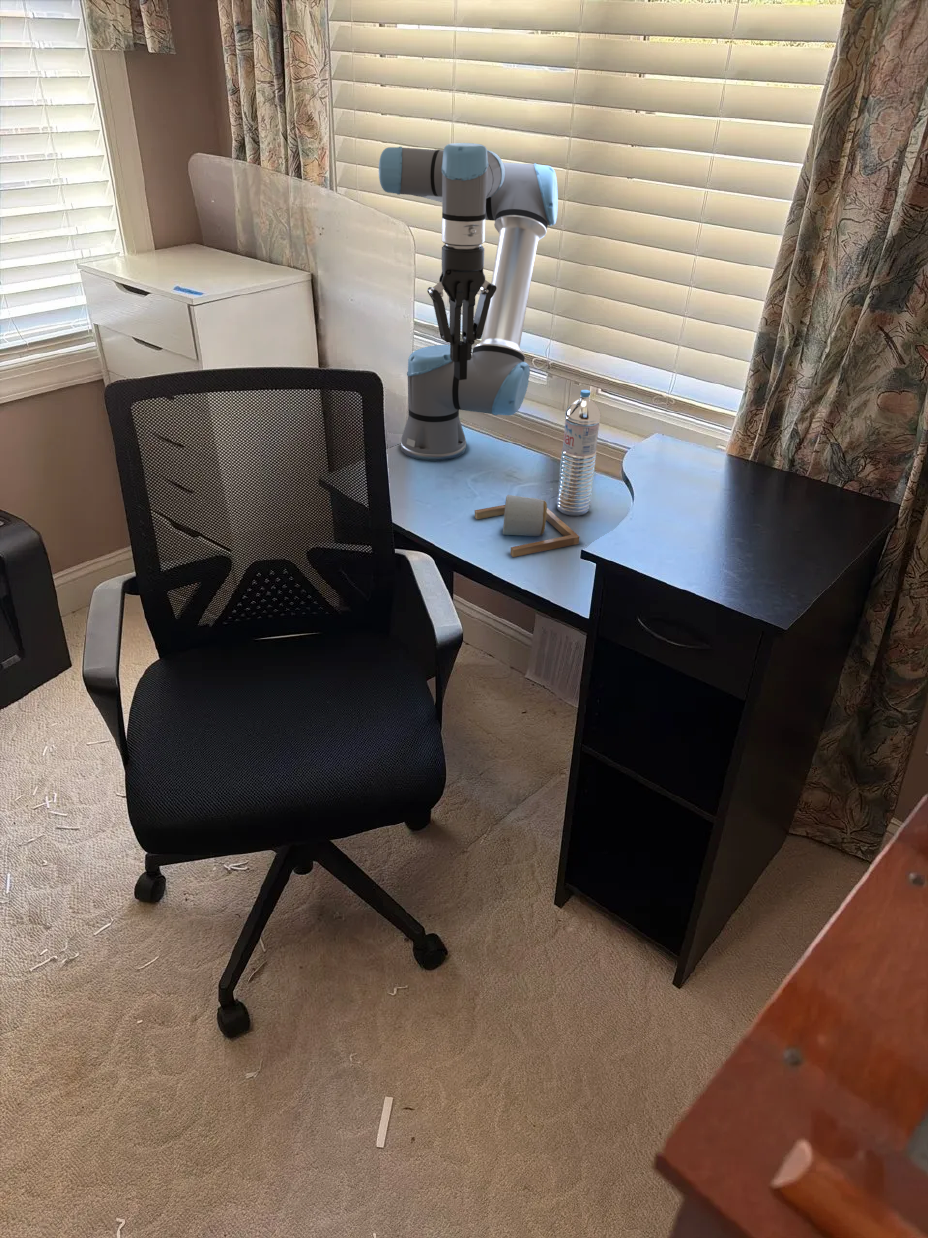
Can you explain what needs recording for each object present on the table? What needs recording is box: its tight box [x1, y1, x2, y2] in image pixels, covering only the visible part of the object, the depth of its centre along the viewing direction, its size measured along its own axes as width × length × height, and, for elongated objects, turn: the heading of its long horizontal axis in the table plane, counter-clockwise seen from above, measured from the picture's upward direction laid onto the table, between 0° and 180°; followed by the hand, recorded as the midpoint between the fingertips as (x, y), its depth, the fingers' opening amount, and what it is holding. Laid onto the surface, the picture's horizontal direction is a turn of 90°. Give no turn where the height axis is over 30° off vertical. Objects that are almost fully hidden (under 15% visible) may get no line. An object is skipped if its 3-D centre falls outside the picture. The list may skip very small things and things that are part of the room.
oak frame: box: [474, 504, 580, 558], centre depth 167 cm, size 17×14×2 cm
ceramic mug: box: [502, 494, 548, 537], centre depth 166 cm, size 11×8×8 cm
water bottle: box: [556, 389, 602, 517], centre depth 169 cm, size 7×7×25 cm
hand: (460, 377), depth 162 cm, fingers closed
